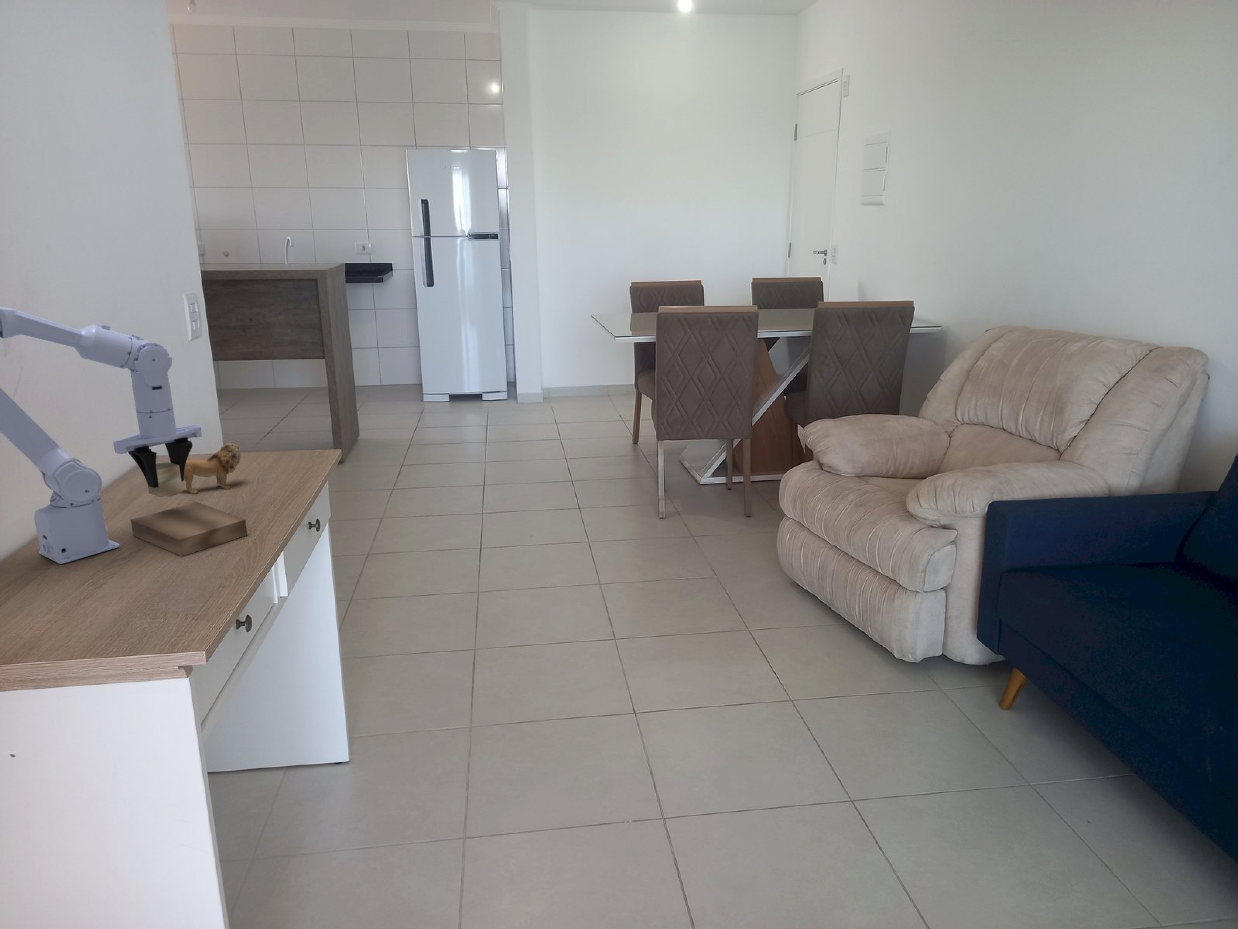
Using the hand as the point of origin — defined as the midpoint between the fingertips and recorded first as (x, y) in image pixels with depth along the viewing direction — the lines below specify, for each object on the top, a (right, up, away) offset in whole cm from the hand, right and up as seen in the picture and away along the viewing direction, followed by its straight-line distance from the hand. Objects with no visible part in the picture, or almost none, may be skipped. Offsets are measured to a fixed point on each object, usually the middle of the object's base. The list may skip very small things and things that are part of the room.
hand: (166, 483), depth 150 cm
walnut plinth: (+5, -9, -1) cm, 10 cm away
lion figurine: (-4, -2, +25) cm, 25 cm away
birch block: (0, -2, +1) cm, 2 cm away
